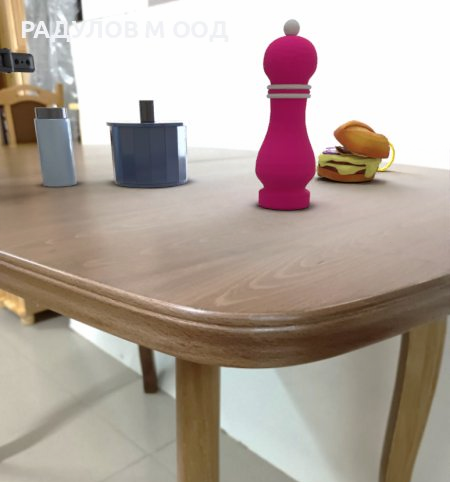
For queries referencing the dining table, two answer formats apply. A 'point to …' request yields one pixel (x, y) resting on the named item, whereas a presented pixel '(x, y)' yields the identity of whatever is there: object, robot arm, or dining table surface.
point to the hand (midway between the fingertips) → (13, 64)
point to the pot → (149, 156)
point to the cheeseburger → (353, 154)
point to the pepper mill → (287, 123)
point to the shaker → (55, 146)
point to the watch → (390, 160)
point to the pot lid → (147, 118)
